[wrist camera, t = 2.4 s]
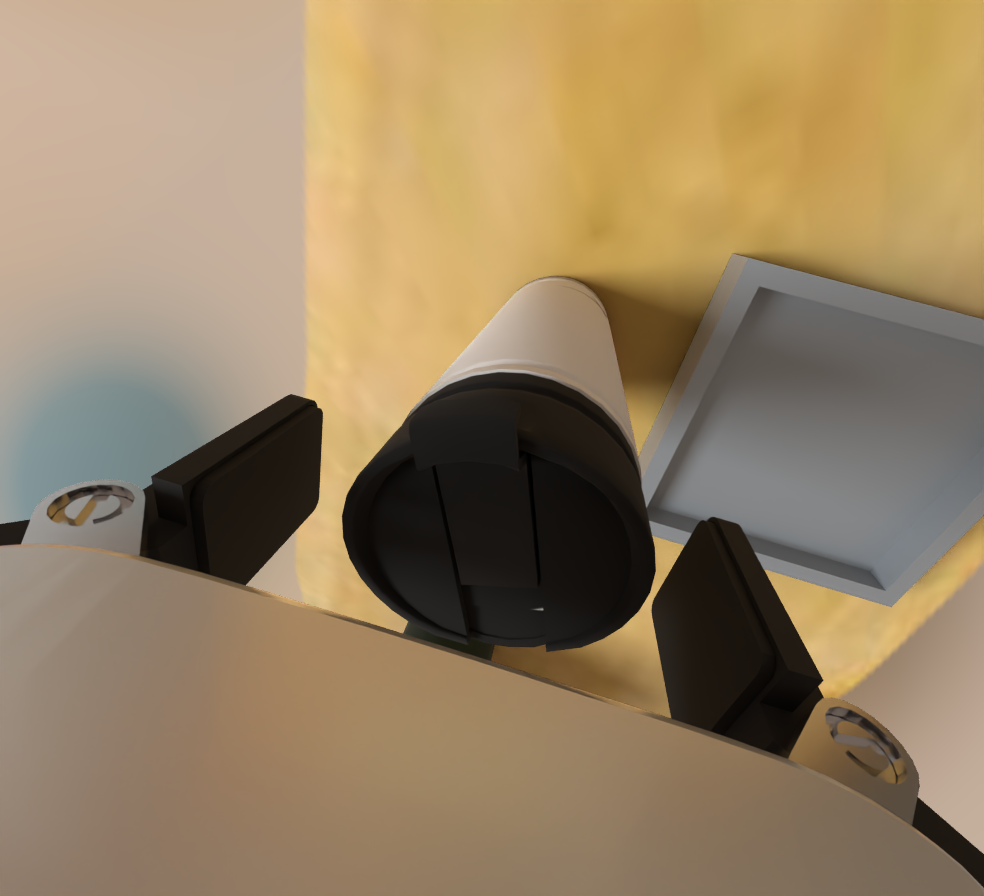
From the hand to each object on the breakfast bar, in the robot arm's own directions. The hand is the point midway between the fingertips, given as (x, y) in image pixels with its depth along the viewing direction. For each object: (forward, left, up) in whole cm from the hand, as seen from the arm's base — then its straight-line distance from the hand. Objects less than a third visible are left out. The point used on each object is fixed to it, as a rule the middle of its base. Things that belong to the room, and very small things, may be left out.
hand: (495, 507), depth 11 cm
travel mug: (0, 0, -17) cm, 17 cm away
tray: (+2, +16, -17) cm, 24 cm away
